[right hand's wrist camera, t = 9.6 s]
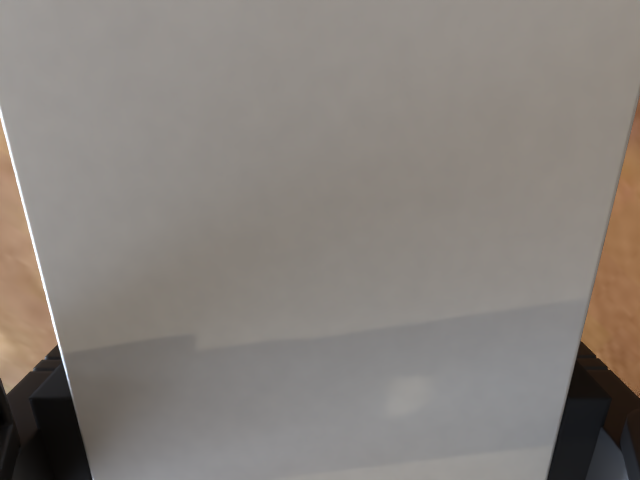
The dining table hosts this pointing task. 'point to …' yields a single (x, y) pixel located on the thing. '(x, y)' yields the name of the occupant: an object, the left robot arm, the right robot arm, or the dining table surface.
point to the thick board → (318, 225)
